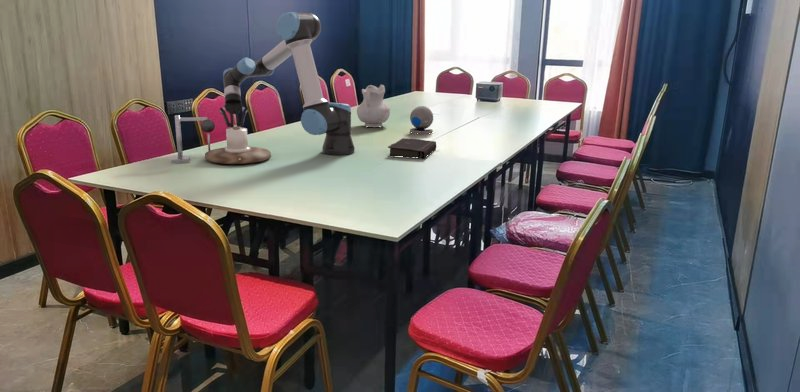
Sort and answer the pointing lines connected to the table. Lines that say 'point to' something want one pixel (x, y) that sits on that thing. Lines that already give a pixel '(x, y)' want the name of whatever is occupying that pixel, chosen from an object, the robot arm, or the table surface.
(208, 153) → the turntable
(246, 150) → the canister
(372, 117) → the ceramic pitcher
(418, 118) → the webcam
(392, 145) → the diary
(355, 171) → the table surface
